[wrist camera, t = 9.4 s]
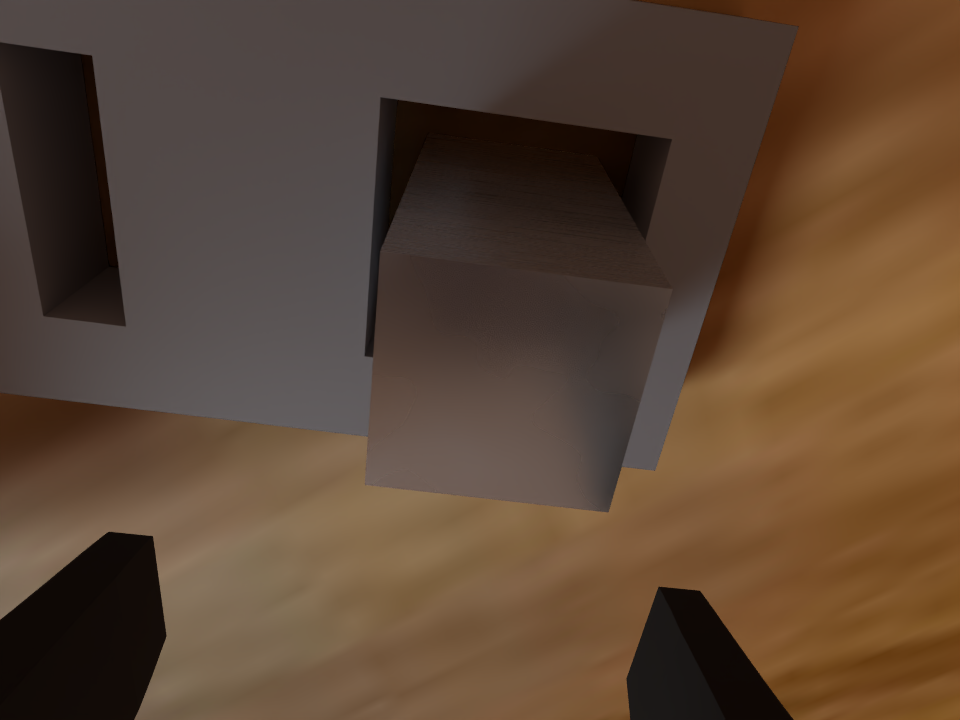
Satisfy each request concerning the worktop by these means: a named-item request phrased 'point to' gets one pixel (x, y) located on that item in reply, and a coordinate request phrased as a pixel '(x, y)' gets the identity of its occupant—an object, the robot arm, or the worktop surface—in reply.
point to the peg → (510, 328)
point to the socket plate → (325, 181)
